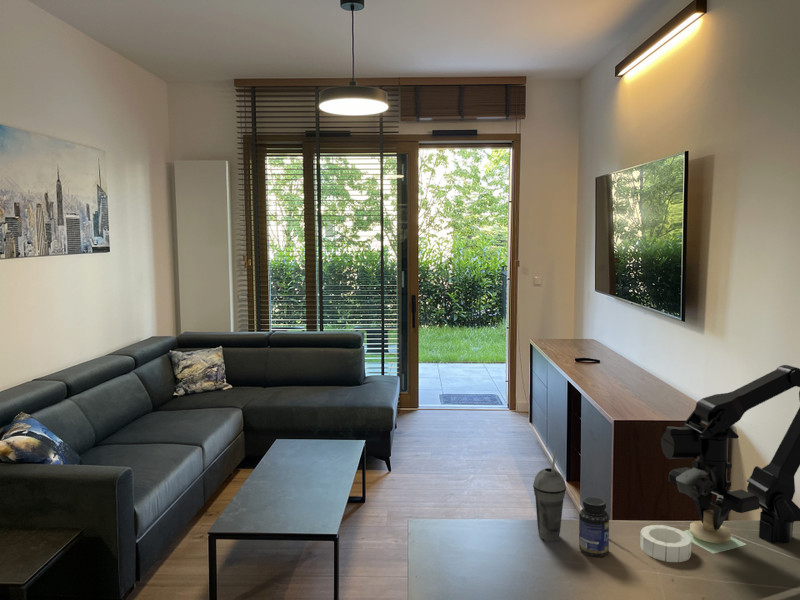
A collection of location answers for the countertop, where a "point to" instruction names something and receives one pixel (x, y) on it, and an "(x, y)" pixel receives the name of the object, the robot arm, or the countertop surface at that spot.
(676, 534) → the white faceted ring
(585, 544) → the pill bottle
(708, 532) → the lid
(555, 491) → the beverage cup
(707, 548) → the mat
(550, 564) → the countertop surface
